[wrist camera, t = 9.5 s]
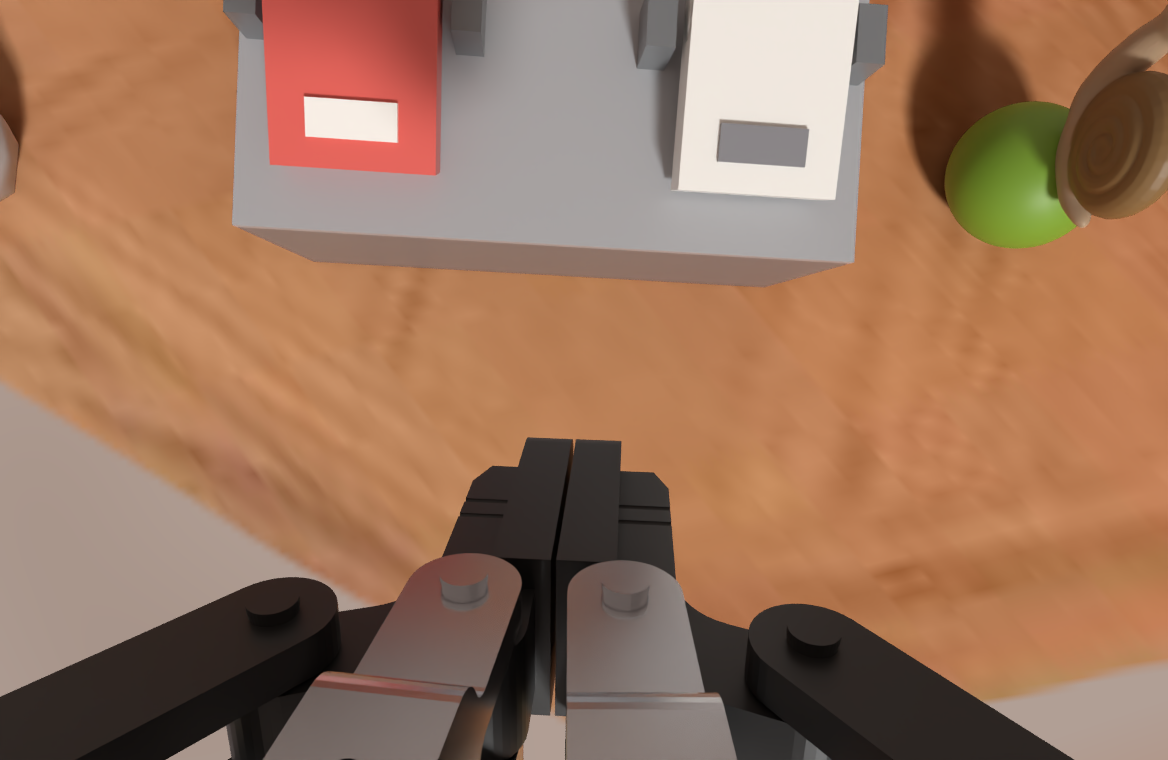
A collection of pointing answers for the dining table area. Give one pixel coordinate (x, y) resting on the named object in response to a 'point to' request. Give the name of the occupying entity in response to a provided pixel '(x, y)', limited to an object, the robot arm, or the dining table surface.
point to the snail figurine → (1068, 152)
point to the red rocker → (354, 84)
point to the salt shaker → (7, 160)
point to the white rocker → (763, 97)
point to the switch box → (549, 159)
